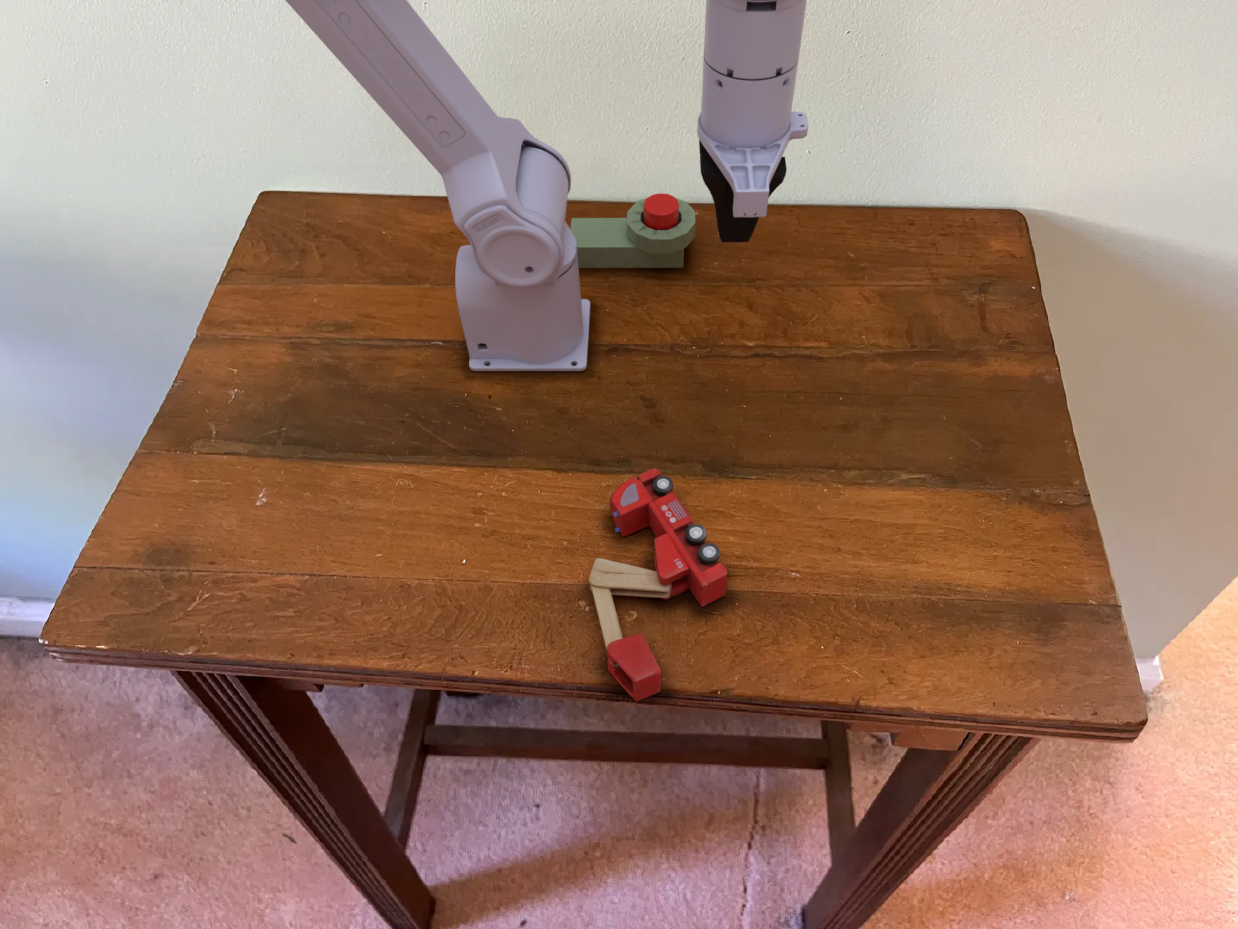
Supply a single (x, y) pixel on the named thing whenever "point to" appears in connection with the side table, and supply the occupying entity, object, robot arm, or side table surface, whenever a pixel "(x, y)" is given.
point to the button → (661, 211)
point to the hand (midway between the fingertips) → (734, 236)
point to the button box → (632, 240)
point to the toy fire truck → (652, 573)
